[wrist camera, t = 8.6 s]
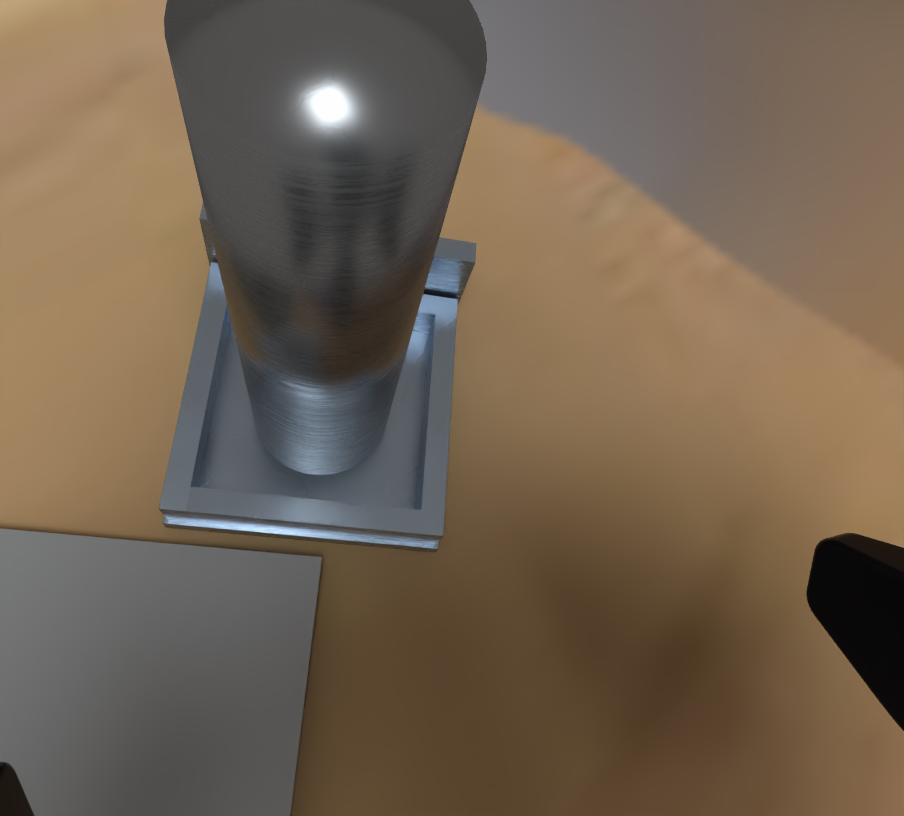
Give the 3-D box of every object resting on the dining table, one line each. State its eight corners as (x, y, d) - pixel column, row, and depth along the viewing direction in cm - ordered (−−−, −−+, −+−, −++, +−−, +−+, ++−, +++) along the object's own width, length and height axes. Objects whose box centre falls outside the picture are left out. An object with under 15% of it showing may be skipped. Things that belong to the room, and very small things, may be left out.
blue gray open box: (435, 552, 19) (461, 525, 16) (166, 527, 18) (137, 493, 15) (451, 307, 22) (476, 243, 19) (218, 272, 21) (204, 199, 18)
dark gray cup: (350, 497, 19) (406, 216, 7) (228, 437, 19) (94, 62, 7) (408, 387, 20) (531, 6, 9) (295, 331, 20) (270, -125, 9)
